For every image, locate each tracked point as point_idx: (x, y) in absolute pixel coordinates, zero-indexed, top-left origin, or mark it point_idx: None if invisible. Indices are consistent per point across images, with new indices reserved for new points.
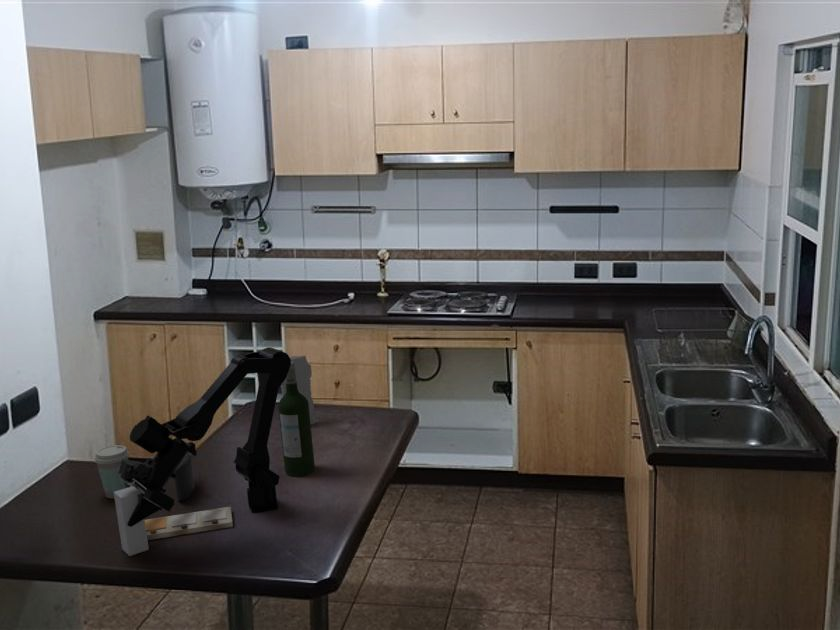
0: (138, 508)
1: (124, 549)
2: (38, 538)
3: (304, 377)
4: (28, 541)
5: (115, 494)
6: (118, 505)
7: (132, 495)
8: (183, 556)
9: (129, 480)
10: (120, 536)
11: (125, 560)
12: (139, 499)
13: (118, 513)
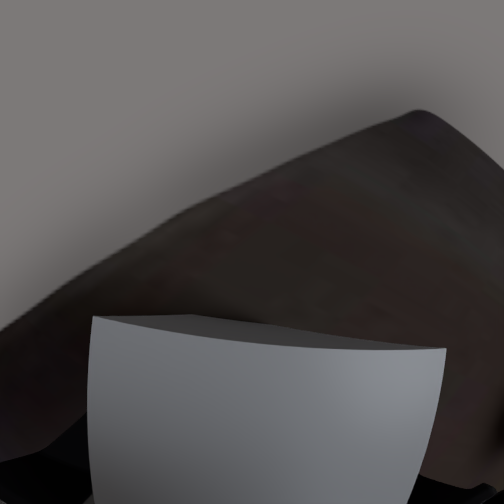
0: (72, 425)
1: (242, 321)
2: (480, 195)
3: None
4: (476, 175)
5: (375, 349)
6: (265, 332)
7: (100, 494)
8: (56, 419)
9: (501, 500)
10: (279, 326)
11: (174, 288)
12: (39, 478)
13: (286, 331)
